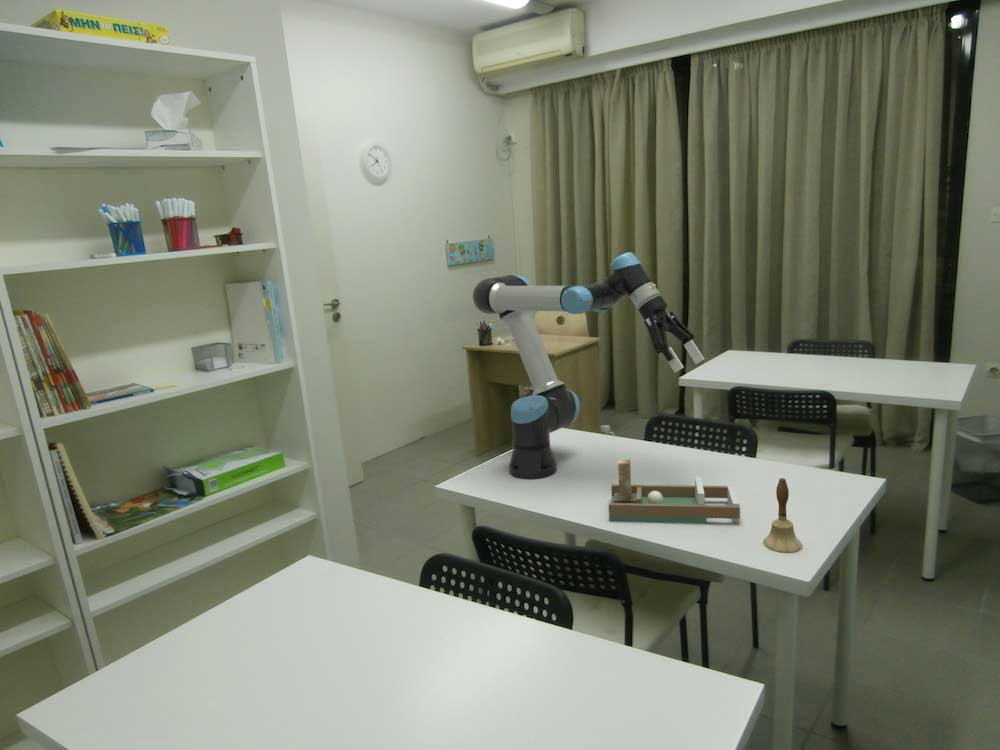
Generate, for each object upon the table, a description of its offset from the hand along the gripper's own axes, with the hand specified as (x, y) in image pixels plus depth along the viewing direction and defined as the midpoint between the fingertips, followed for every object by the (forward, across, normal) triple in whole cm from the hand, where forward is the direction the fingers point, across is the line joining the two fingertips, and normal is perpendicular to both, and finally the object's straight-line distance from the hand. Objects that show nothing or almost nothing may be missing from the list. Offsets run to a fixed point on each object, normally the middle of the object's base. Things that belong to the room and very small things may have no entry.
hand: (690, 365), depth 180 cm
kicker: (+24, -22, +26) cm, 42 cm away
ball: (+26, -19, +20) cm, 38 cm away
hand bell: (+48, -21, -5) cm, 53 cm away
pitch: (+31, -17, +18) cm, 40 cm away
